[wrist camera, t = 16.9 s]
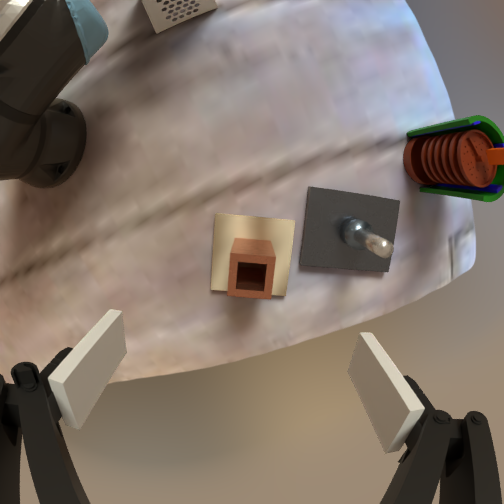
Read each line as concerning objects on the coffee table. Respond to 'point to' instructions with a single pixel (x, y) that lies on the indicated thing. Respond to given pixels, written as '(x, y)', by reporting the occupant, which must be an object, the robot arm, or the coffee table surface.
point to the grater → (159, 16)
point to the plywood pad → (251, 228)
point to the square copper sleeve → (251, 269)
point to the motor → (458, 158)
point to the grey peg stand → (348, 230)
